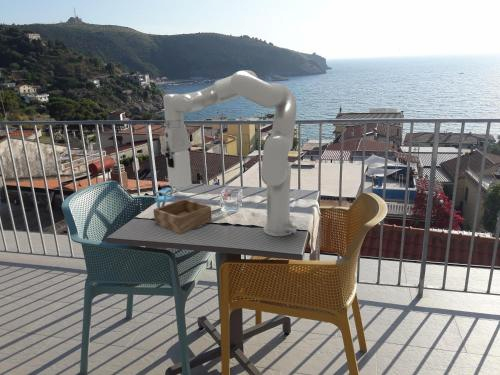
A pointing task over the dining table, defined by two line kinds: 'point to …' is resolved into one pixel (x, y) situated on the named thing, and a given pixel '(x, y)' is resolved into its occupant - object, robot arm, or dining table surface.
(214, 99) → the robot arm
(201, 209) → the wooden crate
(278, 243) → the dining table surface
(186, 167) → the milk carton
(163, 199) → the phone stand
